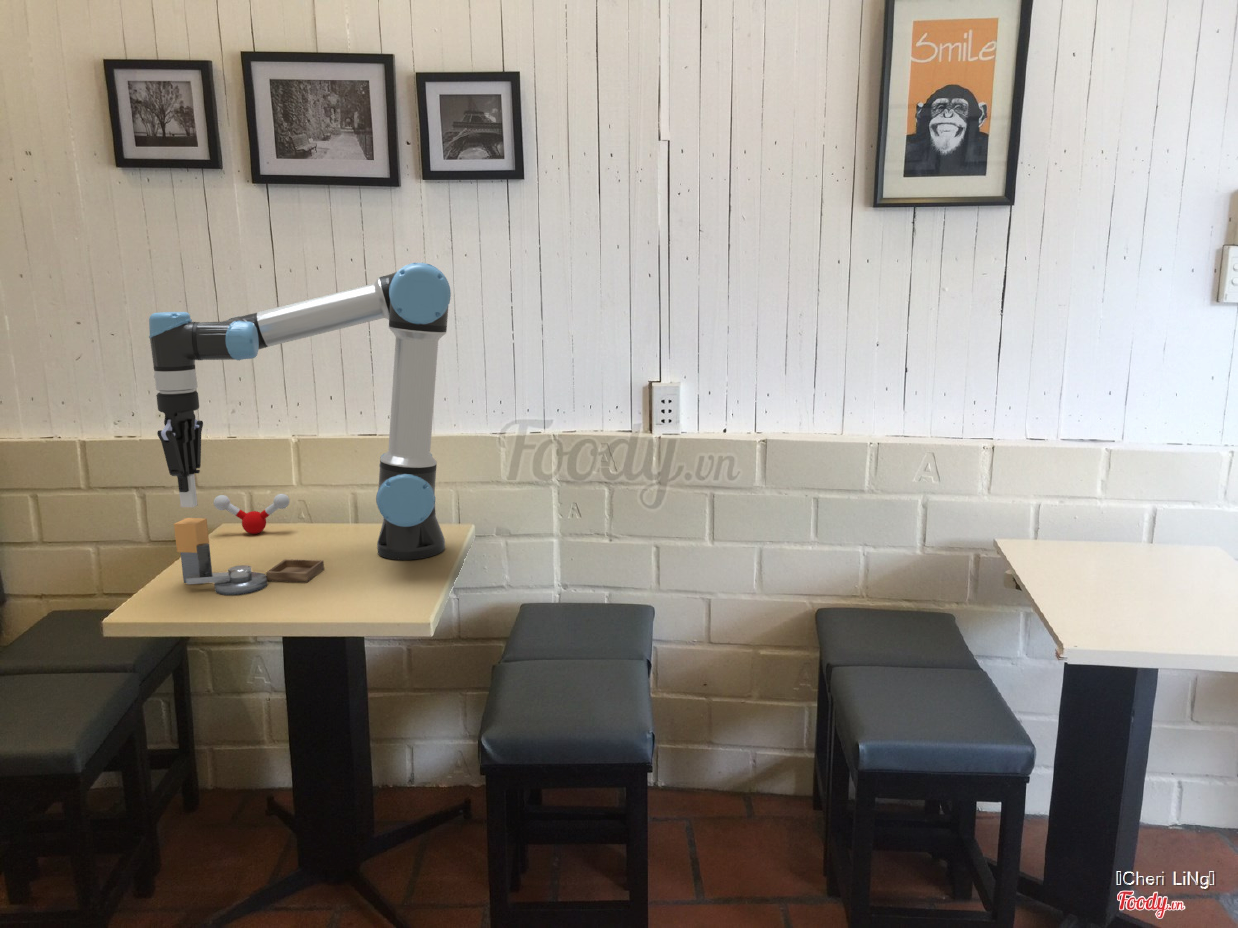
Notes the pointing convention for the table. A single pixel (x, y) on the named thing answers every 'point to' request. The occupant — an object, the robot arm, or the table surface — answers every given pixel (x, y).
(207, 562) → the crank
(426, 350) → the robot arm
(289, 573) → the tray
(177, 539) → the orange wooden block
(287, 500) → the molecular model
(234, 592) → the crank base
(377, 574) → the table surface
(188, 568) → the gray block
